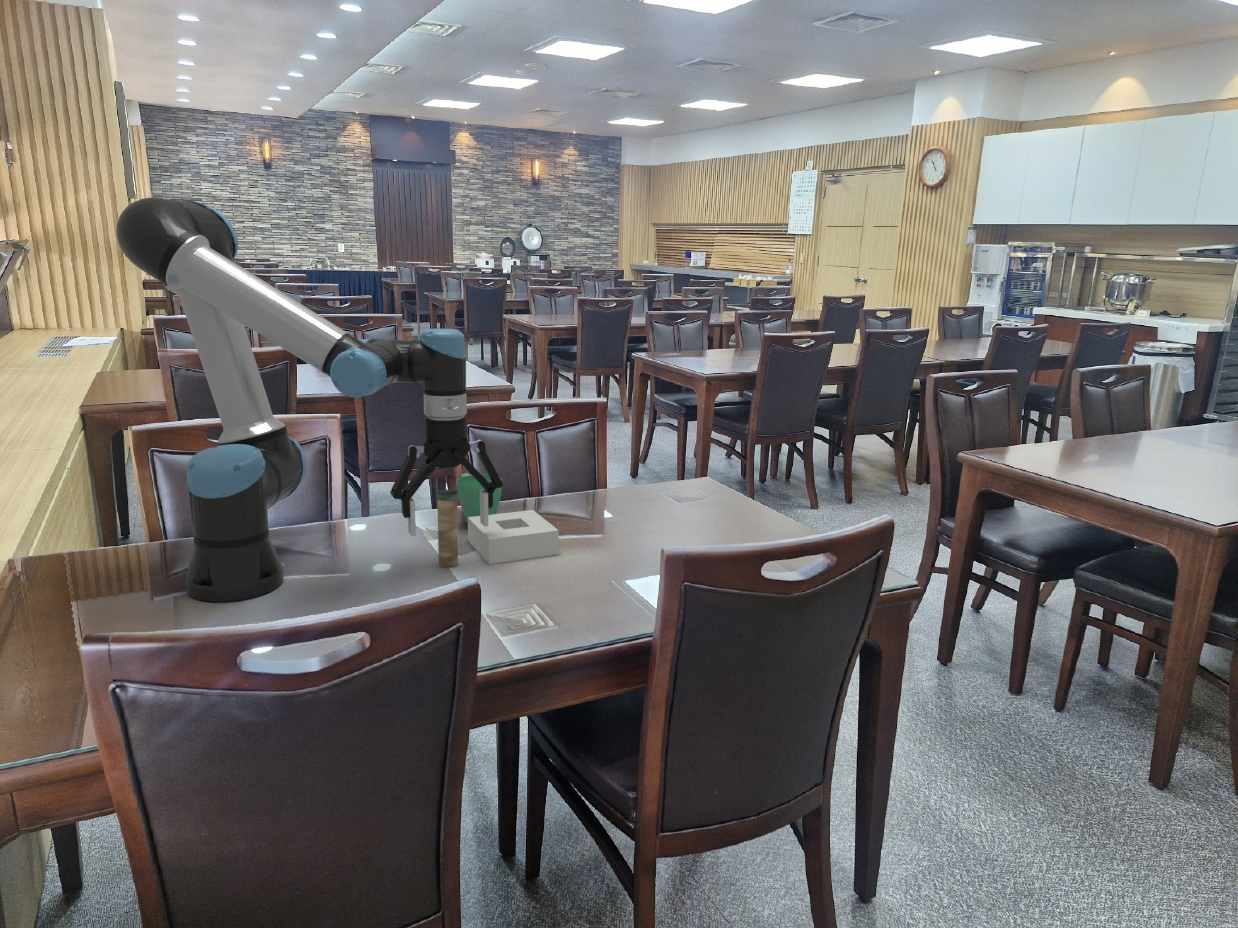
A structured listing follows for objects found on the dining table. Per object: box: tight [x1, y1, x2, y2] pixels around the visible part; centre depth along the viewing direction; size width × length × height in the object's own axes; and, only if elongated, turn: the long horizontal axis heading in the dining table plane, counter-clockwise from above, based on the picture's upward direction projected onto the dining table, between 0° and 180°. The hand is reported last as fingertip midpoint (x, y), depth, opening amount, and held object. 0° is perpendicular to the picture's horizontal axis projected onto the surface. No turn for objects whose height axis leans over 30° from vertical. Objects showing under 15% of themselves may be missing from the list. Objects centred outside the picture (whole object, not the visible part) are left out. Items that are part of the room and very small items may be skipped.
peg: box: [436, 489, 459, 569], centre depth 150 cm, size 4×4×14 cm
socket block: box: [467, 509, 560, 565], centre depth 161 cm, size 14×14×5 cm
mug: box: [455, 472, 504, 524], centre depth 175 cm, size 15×10×10 cm
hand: (448, 529), depth 150 cm, fingers open, 13 cm apart
